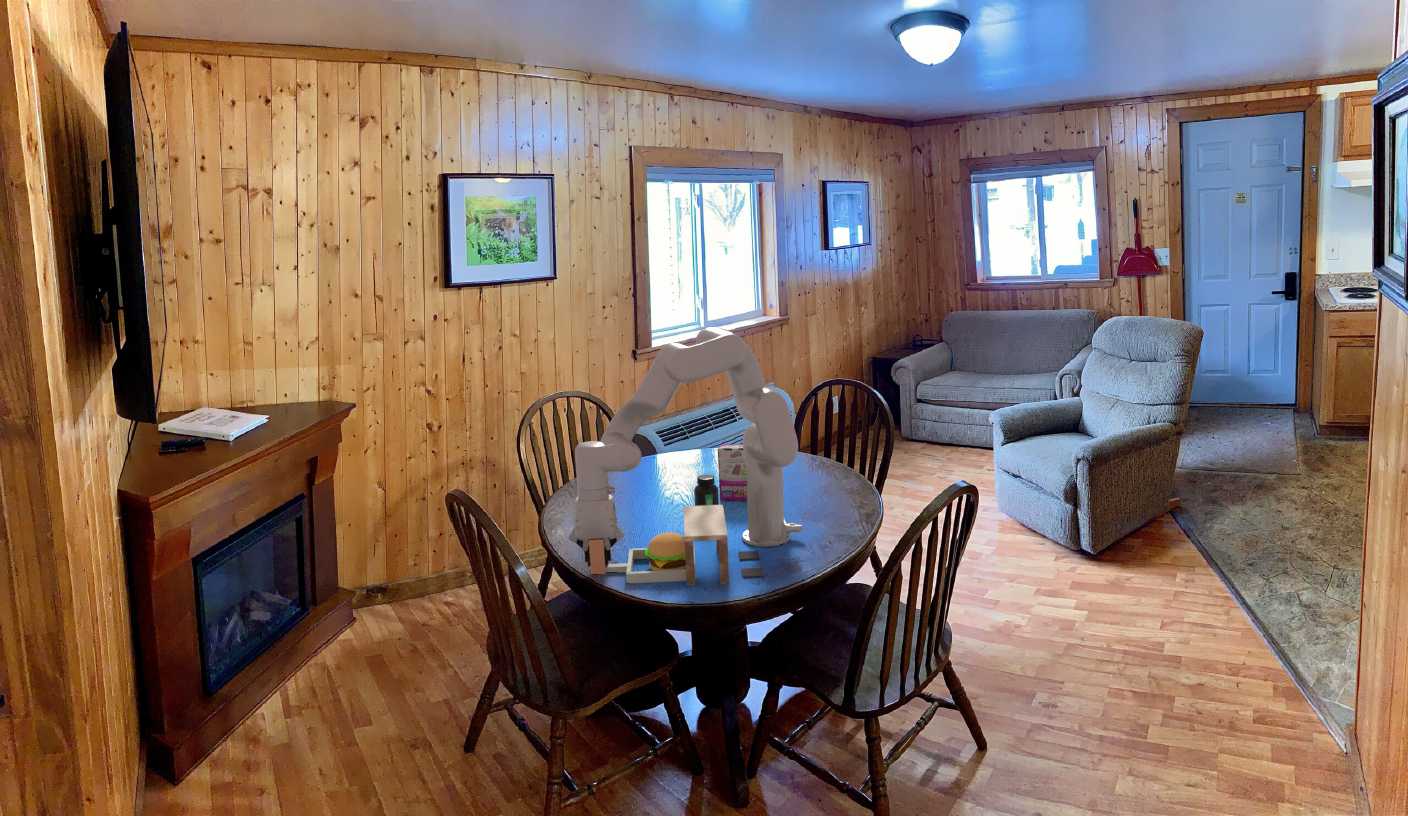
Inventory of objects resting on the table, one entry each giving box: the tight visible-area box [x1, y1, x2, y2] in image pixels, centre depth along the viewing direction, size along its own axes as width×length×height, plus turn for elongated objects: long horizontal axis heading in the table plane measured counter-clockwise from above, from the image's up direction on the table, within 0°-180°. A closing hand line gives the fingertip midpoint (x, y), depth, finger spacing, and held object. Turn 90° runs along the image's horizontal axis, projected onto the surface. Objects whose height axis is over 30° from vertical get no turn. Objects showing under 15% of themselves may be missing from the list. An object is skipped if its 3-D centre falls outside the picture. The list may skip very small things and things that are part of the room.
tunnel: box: [683, 504, 730, 586], centre depth 230 cm, size 10×22×12 cm, turn 2°
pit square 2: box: [741, 566, 765, 579], centre depth 227 cm, size 5×5×1 cm
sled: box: [589, 539, 697, 584], centre depth 230 cm, size 26×16×9 cm, turn 92°
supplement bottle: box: [693, 474, 720, 506], centre depth 265 cm, size 7×7×12 cm
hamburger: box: [645, 531, 686, 571], centre depth 231 cm, size 12×12×9 cm
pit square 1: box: [738, 550, 761, 561], centre depth 237 cm, size 5×5×1 cm
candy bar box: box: [717, 444, 747, 502], centre depth 280 cm, size 11×5×16 cm, turn 81°
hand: (598, 563), depth 231 cm, fingers closed on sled, 3 cm apart
